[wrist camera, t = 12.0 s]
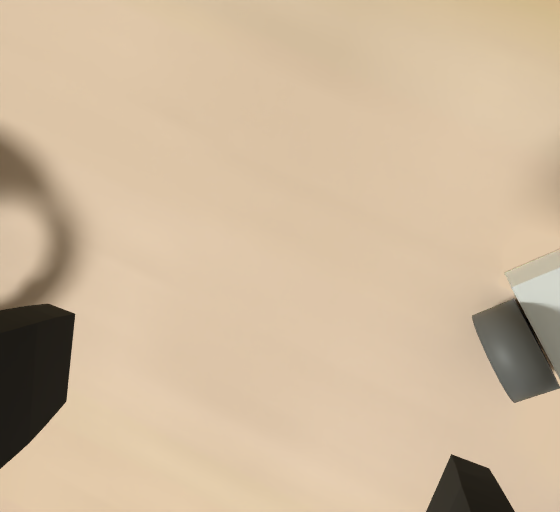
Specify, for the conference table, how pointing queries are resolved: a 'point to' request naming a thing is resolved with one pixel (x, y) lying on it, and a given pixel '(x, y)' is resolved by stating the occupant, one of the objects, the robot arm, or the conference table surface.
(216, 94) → the conference table surface
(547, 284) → the trolley deck
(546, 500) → the conference table surface
